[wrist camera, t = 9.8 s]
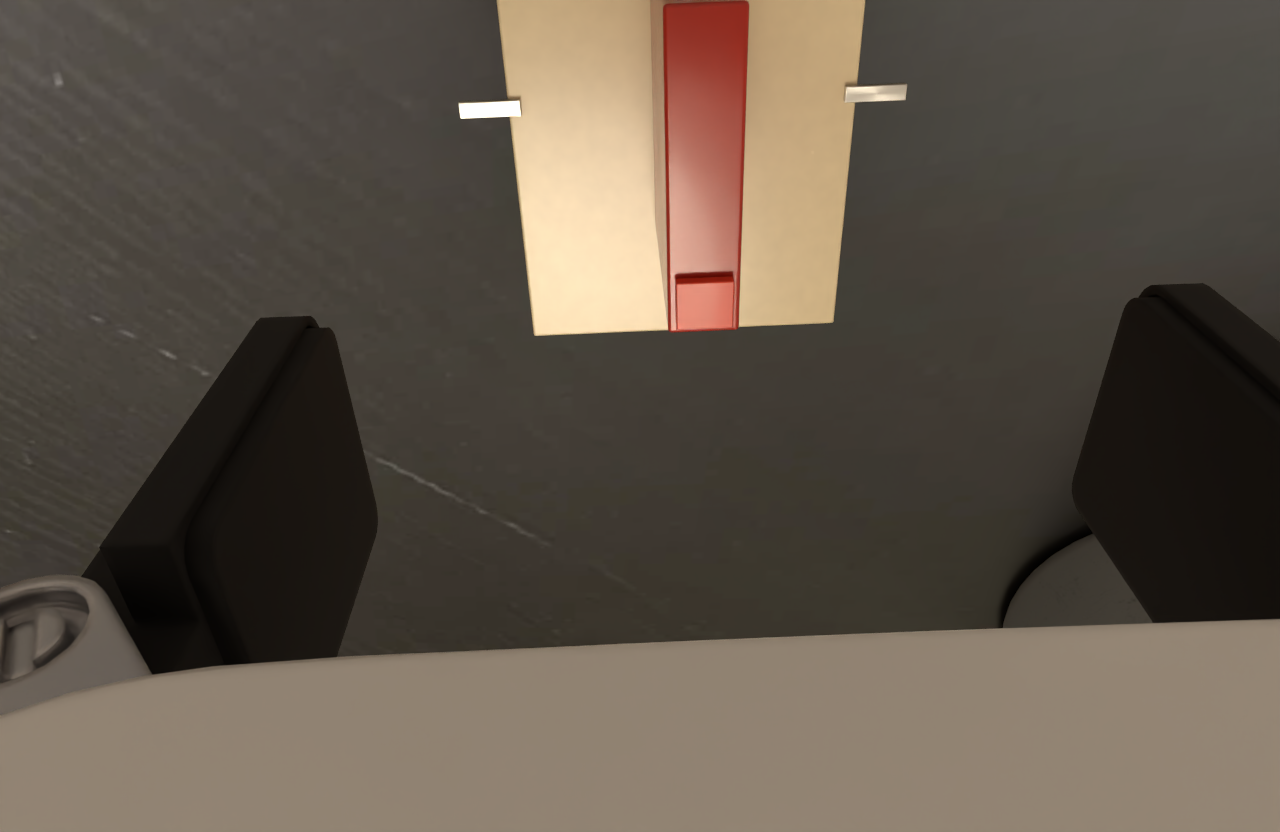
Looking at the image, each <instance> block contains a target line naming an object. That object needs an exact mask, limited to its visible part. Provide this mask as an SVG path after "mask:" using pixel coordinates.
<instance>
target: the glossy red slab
mask: <svg viewBox="0 0 1280 832" xmlns="http://www.w3.org/2000/svg"><path fill="white" fill-rule="evenodd" d="M650 18H651V60H652V102H653V144H654V186H655V225H656V233H657V241H658V250H659V258H660V266H661V275H662V283H663V291H664V300H665V308H666V316H667V325H668V330H669V332H690V331H712V330H735V329H738V326H739V306H740V276H741V245H742V215H743V185H744V155H745V125H746V95H747V65H748V35H749V2H748V1H747V0H650Z"/></svg>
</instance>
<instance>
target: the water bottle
mask: <svg viewBox="0 0 1280 832" xmlns="http://www.w3.org/2000/svg"><path fill="white" fill-rule="evenodd" d="M1141 623H1153V622H1152V620H1151V619H1150V617H1149V616H1148V614H1147V613H1146V611H1145V610H1144V608H1143V607H1142V605H1141V604H1140V602H1139V601H1138V599H1137V598H1136V596H1135V595H1134V593H1133V592H1132V591H1131V589H1130V588H1129V586H1128V585H1127V583H1126V582H1125V580H1124V579H1123V577H1122V576H1121V574H1120V573H1119V571H1118V570H1117V568H1116V567H1115V565H1114V564H1113V562H1112V561H1111V559H1110V558H1109V556H1108V555H1107V553H1106V552H1105V550H1104V549H1103V547H1102V546H1101V544H1100V543H1099V541H1098V540H1097V538H1096V537H1095V535H1094V534H1091V535H1089V536H1086V537H1084V538H1082V539H1080V540H1077V541H1075V542H1073V543H1072V544H1070V545H1068V546H1067V547H1065V548H1063V549H1062V550H1060V551H1058V552H1057V553H1055V554H1053V555H1052V556H1051V557H1050V558H1048V559H1047V560H1046V561H1045V562H1043V563H1042V564H1041V565H1040V566H1039V567H1037V568H1036V569H1035V570H1034V571H1033V572H1032V573H1031V574H1030V575H1029V577H1028V578H1027V579H1026V580H1025V581H1024V582H1023V583H1022V584H1021V585H1020V587H1019V589H1018V590H1017V592H1016V594H1015V595H1014V597H1013V598H1012V600H1011V602H1010V604H1009V607H1008V610H1007V613H1006V616H1005V620H1004V623H1003V628H1027V627H1055V626H1084V625H1112V624H1141Z"/></svg>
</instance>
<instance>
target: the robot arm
mask: <svg viewBox="0 0 1280 832" xmlns="http://www.w3.org/2000/svg"><path fill="white" fill-rule="evenodd" d="M1072 494H1073V500H1074V503H1075V506H1076V508H1077V510H1078V511H1079V513H1080V514H1081V516H1082V517H1083V519H1084V520H1085V522H1086V523H1087V525H1088V526H1089V528H1090V529H1091V531H1092V532H1093V534H1094V535H1095V537H1096V538H1097V540H1098V541H1099V543H1100V544H1101V546H1102V547H1103V549H1104V550H1105V552H1106V553H1107V555H1108V556H1109V558H1110V559H1111V561H1112V562H1113V564H1114V565H1115V567H1116V568H1117V570H1118V571H1119V573H1120V574H1121V576H1122V577H1123V579H1124V580H1125V582H1126V583H1127V585H1128V586H1129V588H1130V589H1131V591H1132V592H1133V593H1134V595H1135V596H1136V598H1137V599H1138V601H1139V602H1140V604H1141V605H1142V607H1143V608H1144V610H1145V611H1146V613H1147V614H1148V616H1149V617H1150V619H1151V620H1152V622H1153V623H1141V624H1112V625H1084V626H1055V627H1027V628H999V629H972V630H946V631H919V632H893V633H868V634H844V635H820V636H796V637H772V638H748V639H724V640H700V641H677V642H654V643H631V644H609V645H588V646H566V647H545V648H524V649H503V650H481V651H459V652H436V653H414V654H391V655H369V656H347V657H337V654H338V651H339V648H340V645H341V642H342V639H343V636H344V633H345V630H346V626H347V623H348V620H349V617H350V614H351V611H352V608H353V605H354V602H355V599H356V596H357V593H358V590H359V586H360V583H361V580H362V577H363V574H364V571H365V568H366V565H367V562H368V559H369V556H370V553H371V550H372V546H373V543H374V540H375V537H376V533H377V525H378V515H377V507H376V502H375V498H374V493H373V489H372V485H371V481H370V477H369V473H368V469H367V465H366V460H365V456H364V452H363V448H362V444H361V440H360V436H359V431H358V427H357V423H356V419H355V415H354V411H353V407H352V403H351V398H350V394H349V390H348V386H347V382H346V378H345V374H344V369H343V365H342V361H341V357H340V353H339V349H338V345H337V341H336V338H335V335H334V333H333V331H332V330H331V329H330V328H319V326H318V324H317V322H316V321H315V319H314V318H313V317H311V316H298V317H271V318H260V319H259V320H258V321H257V322H256V323H255V325H254V326H253V327H252V329H251V330H250V332H249V333H248V335H247V336H246V338H245V339H244V340H243V342H242V343H241V345H240V346H239V348H238V349H237V350H236V352H235V353H234V355H233V356H232V358H231V359H230V360H229V362H228V363H227V365H226V366H225V368H224V369H223V371H222V372H221V373H220V375H219V376H218V378H217V379H216V381H215V382H214V383H213V385H212V386H211V388H210V389H209V391H208V392H207V393H206V395H205V396H204V398H203V399H202V401H201V402H200V404H199V405H198V406H197V408H196V409H195V411H194V412H193V414H192V415H191V416H190V418H189V419H188V421H187V422H186V424H185V425H184V427H183V428H182V429H181V431H180V432H179V434H178V435H177V437H176V438H175V439H174V441H173V442H172V444H171V445H170V447H169V448H168V449H167V451H166V452H165V454H164V455H163V457H162V458H161V460H160V461H159V462H158V464H157V465H156V467H155V468H154V470H153V471H152V472H151V474H150V475H149V477H148V478H147V480H146V481H145V482H144V484H143V485H142V487H141V488H140V490H139V491H138V493H137V494H136V495H135V497H134V498H133V500H132V501H131V503H130V504H129V505H128V507H127V508H126V510H125V511H124V513H123V514H122V515H121V517H120V518H119V520H118V521H117V523H116V524H115V526H114V527H113V528H112V530H111V531H110V533H109V534H108V536H107V537H106V538H105V540H104V541H103V543H102V544H101V546H100V547H99V548H100V551H99V552H98V553H97V555H96V556H95V558H94V559H93V561H92V562H91V564H90V565H89V566H88V568H87V569H86V571H85V572H84V574H83V575H82V577H80V576H77V575H47V576H42V577H36V578H30V579H25V580H22V581H19V582H16V583H13V584H11V585H8V586H5V587H2V588H0V832H1280V342H1279V341H1278V340H1276V339H1275V338H1274V337H1273V336H1271V335H1270V334H1269V333H1268V332H1266V331H1265V330H1264V329H1263V328H1261V327H1260V326H1259V325H1257V324H1256V323H1255V322H1254V321H1252V320H1251V319H1250V318H1249V317H1247V316H1246V315H1245V314H1244V313H1242V312H1241V311H1240V310H1238V309H1237V308H1236V307H1235V306H1233V305H1232V304H1231V303H1230V302H1228V301H1227V300H1226V299H1225V298H1223V297H1222V296H1221V295H1219V294H1218V293H1217V292H1216V291H1214V290H1213V289H1212V288H1211V287H1209V286H1207V285H1205V284H1203V283H1199V284H1172V285H1151V286H1149V287H1147V288H1146V289H1144V291H1143V292H1142V293H1141V295H1140V296H1139V298H1133V299H1131V300H1130V301H1129V302H1128V303H1127V305H1126V306H1125V308H1124V311H1123V313H1122V317H1121V320H1120V323H1119V327H1118V330H1117V333H1116V337H1115V340H1114V343H1113V347H1112V350H1111V353H1110V357H1109V360H1108V364H1107V367H1106V370H1105V374H1104V377H1103V380H1102V384H1101V387H1100V390H1099V394H1098V397H1097V400H1096V404H1095V407H1094V410H1093V414H1092V417H1091V420H1090V424H1089V427H1088V430H1087V434H1086V437H1085V440H1084V444H1083V447H1082V451H1081V454H1080V457H1079V461H1078V464H1077V467H1076V471H1075V474H1074V477H1073V482H1072Z"/></svg>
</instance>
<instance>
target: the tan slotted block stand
mask: <svg viewBox="0 0 1280 832" xmlns="http://www.w3.org/2000/svg"><path fill="white" fill-rule="evenodd" d="M747 1H748V2H749V35H748V65H747V95H746V125H745V155H744V185H743V215H742V245H741V276H740V306H739V326H738V327H746V326H768V325H791V324H814V323H832V322H833V320H834V311H835V301H836V291H837V281H838V270H839V260H840V250H841V240H842V230H843V220H844V210H845V200H846V190H847V180H848V170H849V160H850V150H851V140H852V130H853V120H854V110H855V102H874V101H898V100H905V99H906V91H907V84H906V83H885V84H861V85H857V79H858V69H859V59H860V49H861V39H862V29H863V19H864V9H865V0H747ZM497 9H498V18H499V27H500V36H501V45H502V54H503V63H504V72H505V81H506V90H507V99H501V100H477V101H459V103H458V106H459V113H460V118H461V119H467V118H491V117H510V125H511V134H512V143H513V152H514V161H515V170H516V179H517V188H518V197H519V206H520V215H521V224H522V233H523V242H524V251H525V260H526V269H527V278H528V287H529V296H530V305H531V314H532V323H533V332H534V335H535V336H540V335H563V334H586V333H609V332H632V331H654V330H668V325H667V316H666V308H665V300H664V291H663V283H662V275H661V266H660V258H659V250H658V241H657V233H656V225H655V186H654V144H653V102H652V60H651V18H650V0H497Z"/></svg>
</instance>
